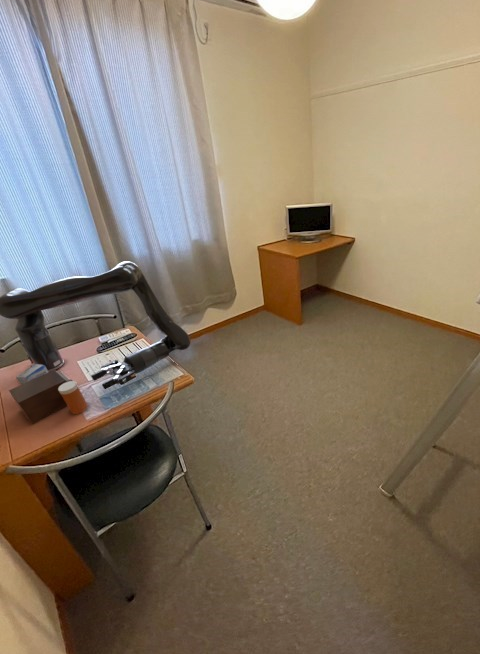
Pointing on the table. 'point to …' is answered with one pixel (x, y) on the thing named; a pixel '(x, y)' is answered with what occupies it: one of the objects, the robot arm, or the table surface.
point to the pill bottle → (73, 397)
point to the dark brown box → (40, 396)
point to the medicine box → (32, 373)
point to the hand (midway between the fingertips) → (97, 382)
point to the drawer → (64, 376)
